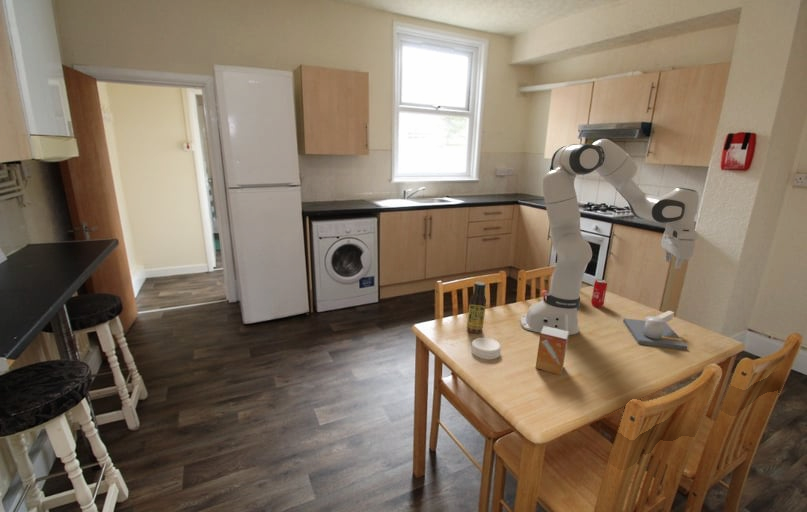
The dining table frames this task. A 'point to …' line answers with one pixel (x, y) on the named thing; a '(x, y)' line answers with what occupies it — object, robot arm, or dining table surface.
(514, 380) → the dining table surface
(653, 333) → the white measuring scoop
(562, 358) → the small box
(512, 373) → the dining table surface
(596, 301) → the beverage can
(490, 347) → the white bowl
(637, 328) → the plate
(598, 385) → the dining table surface
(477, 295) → the sauce bottle
